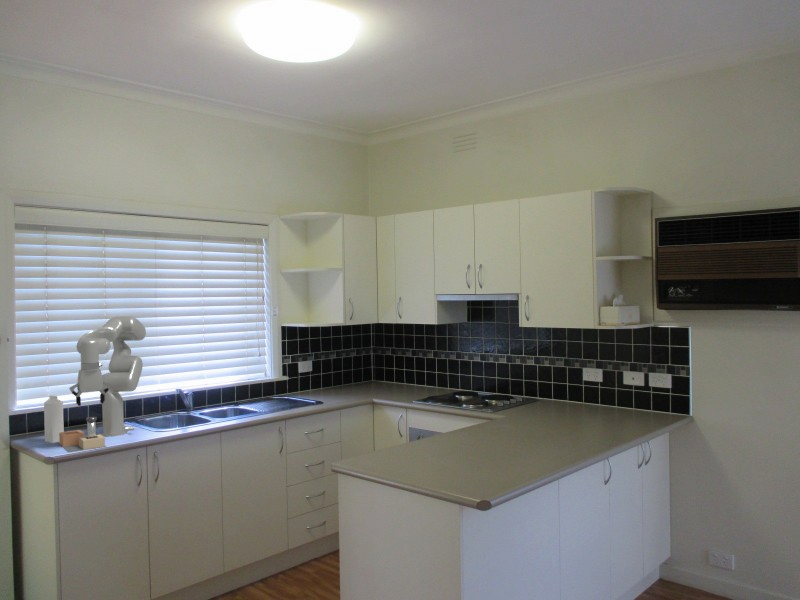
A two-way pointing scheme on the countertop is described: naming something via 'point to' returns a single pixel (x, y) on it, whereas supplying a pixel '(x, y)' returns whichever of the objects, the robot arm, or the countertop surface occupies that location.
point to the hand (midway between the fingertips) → (90, 404)
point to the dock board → (79, 441)
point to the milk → (53, 419)
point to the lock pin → (91, 427)
